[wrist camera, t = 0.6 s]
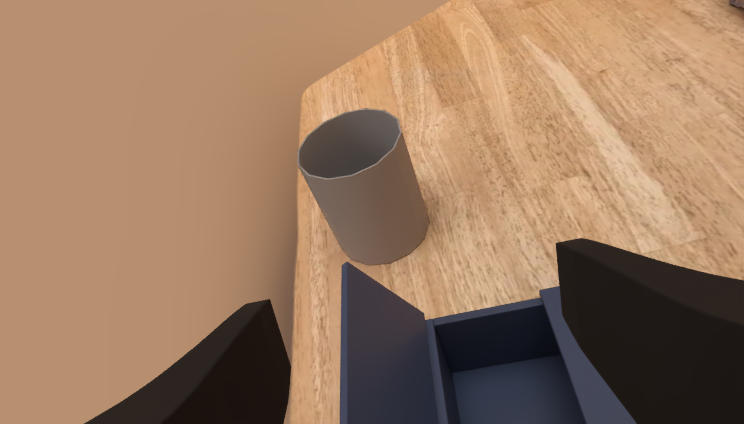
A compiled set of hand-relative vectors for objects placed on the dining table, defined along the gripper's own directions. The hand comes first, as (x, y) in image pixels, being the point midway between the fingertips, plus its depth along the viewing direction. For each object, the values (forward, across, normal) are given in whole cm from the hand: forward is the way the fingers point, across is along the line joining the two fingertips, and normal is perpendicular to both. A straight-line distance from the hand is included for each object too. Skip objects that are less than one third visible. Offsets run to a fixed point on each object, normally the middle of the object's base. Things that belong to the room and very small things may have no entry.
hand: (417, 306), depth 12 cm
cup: (+30, +1, +9) cm, 32 cm away
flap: (+7, +2, +9) cm, 11 cm away
